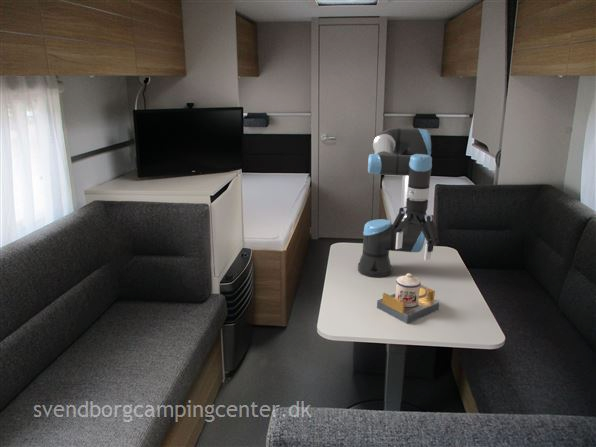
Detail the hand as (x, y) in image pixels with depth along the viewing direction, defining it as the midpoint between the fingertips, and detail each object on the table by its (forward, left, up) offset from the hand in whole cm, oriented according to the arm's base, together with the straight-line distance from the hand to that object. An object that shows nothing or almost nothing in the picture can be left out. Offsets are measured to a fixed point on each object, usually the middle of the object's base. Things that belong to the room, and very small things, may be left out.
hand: (412, 253), depth 186 cm
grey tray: (0, 0, -23) cm, 23 cm away
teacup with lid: (+1, 0, -20) cm, 20 cm away
